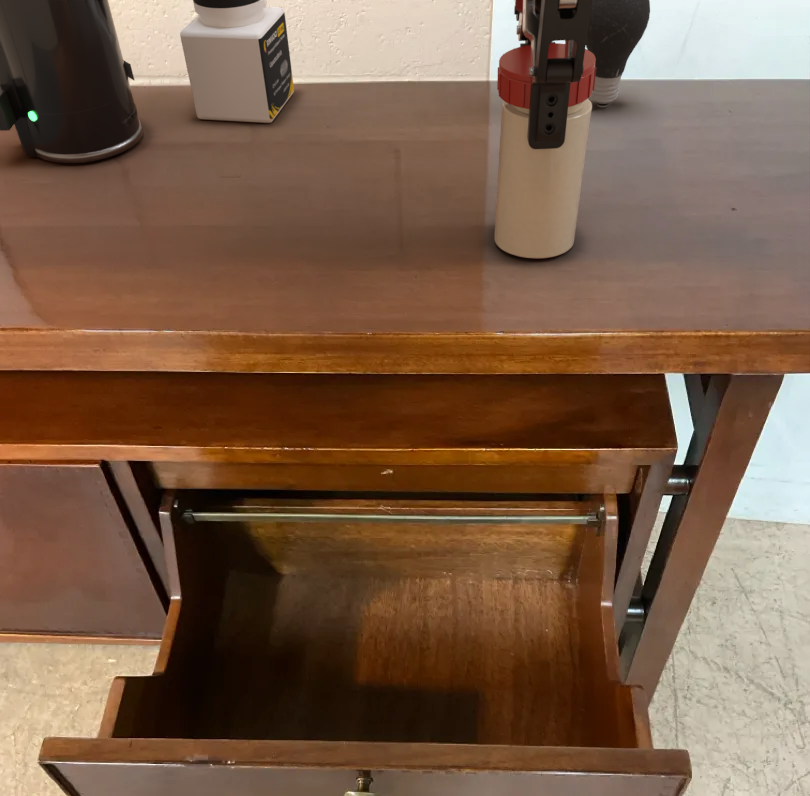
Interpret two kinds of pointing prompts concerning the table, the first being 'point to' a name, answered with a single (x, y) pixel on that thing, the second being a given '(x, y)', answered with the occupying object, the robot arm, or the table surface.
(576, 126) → the jar
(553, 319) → the table surface
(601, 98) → the light bulb
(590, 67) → the lid
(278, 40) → the medicine bottle
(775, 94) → the table surface
